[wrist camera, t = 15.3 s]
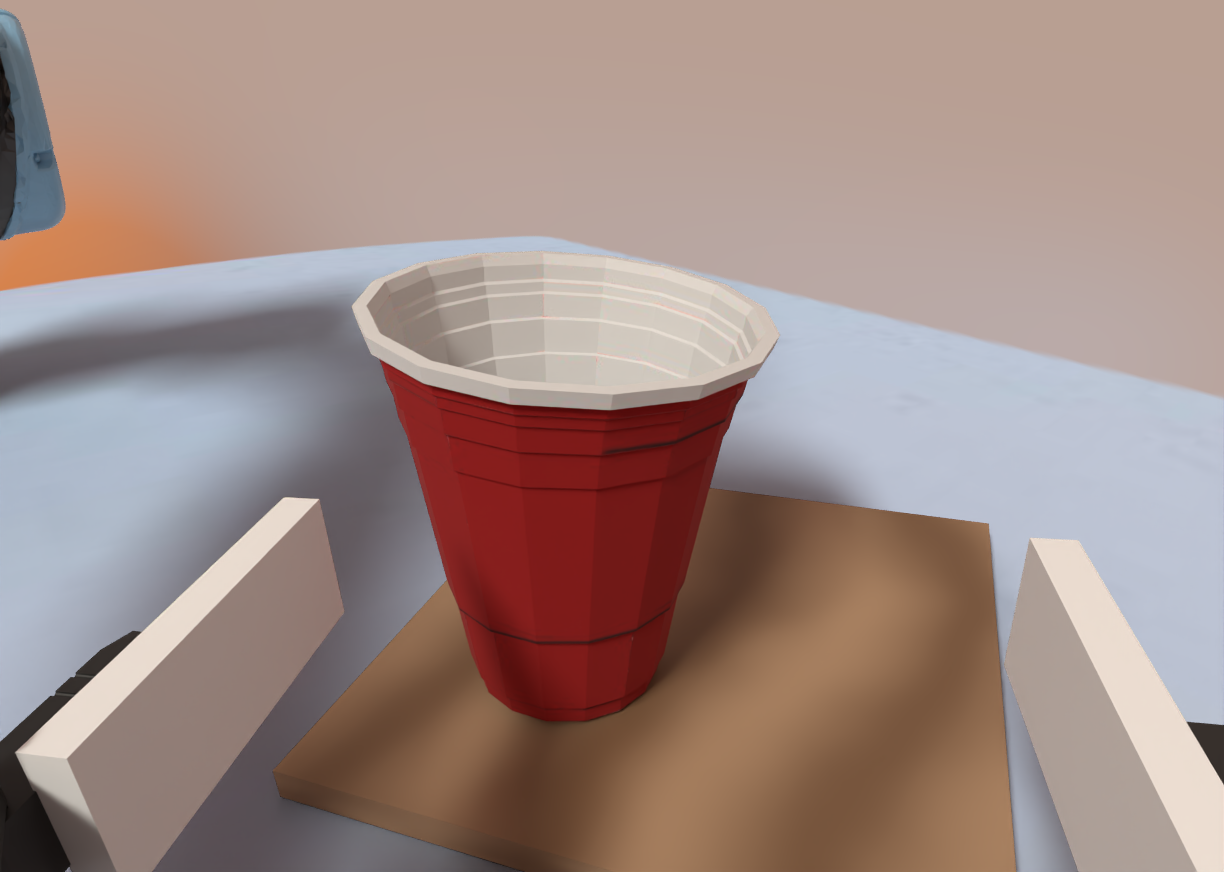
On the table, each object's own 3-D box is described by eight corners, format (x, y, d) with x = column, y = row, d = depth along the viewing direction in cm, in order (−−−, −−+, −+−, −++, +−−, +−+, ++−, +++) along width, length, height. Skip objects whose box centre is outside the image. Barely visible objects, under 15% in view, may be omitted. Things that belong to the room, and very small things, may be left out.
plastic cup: (628, 873, 20) (639, 402, 15) (322, 695, 25) (253, 306, 20) (799, 631, 28) (844, 277, 23) (542, 536, 33) (532, 233, 28)
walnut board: (280, 796, 24) (272, 770, 23) (551, 486, 40) (549, 467, 39) (1017, 1022, 17) (1025, 993, 17) (985, 545, 33) (988, 523, 33)
